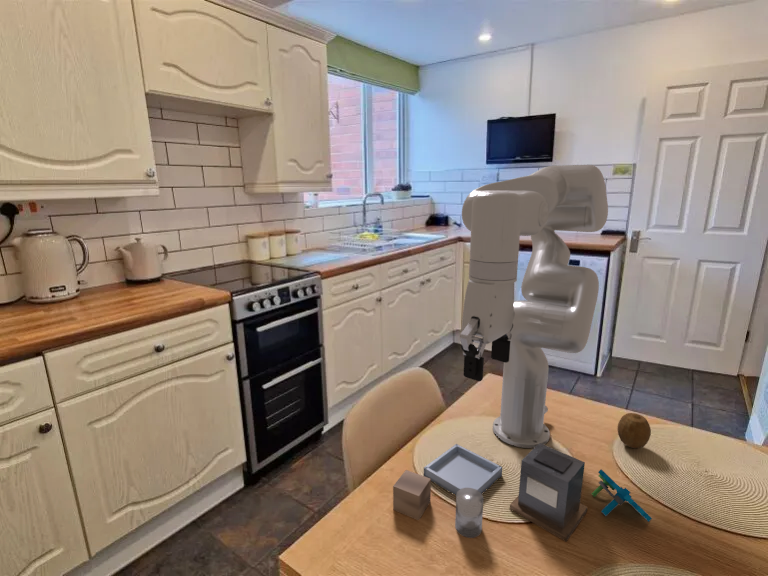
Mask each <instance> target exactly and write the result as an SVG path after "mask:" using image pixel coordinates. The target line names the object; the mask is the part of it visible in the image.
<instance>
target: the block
mask: <svg viewBox="0 0 768 576" xmlns="http://www.w3.org/2000/svg"><path fill="white" fill-rule="evenodd" d="M431 484H432V481H431V479H430V478H428V477H425V476H424V475H421V474H419V473H416V472H413V471H410V470H407V469H406V470H405V471H404V472H403V473H402V474H401V476H400V477H399V478H398V479H397V480H396V481H395V483H394V484H393V485H392V509H393V511H395V512H398V513H400V514H402V515H405V516H406V517H410V518H412V519H414V520H417V521H420V520H421V517H422V516H423V515H424V513H425V511H426V509H428V506H429V505H430V504H431V489H432V487H431Z"/></svg>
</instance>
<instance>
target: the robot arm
mask: <svg viewBox="0 0 768 576" xmlns="http://www.w3.org/2000/svg"><path fill="white" fill-rule="evenodd" d="M604 178H605V177H604V176H603V173H602V171H601V170H600V168H599V167H597V166H596V165H593V164H576V165H575V164H572V165H571V164H570V165H569V164H568V165H565V164H564V165H549V166H545V167H541V168H540V169H538V170H536V171H535V172H533V173H530V174H529V175H523V176H520V177H514V178H512V179H511V178H510V179H506V180H501V181H497V182H492V183H487V184H484V185H482V186H479V187H477V188H475V189H473V190H472V191H471V192H470V193H469V194H468V195H467V196H466V198H465V200H464V201H463V205H462V208H461V220H462V222H463V224H464V226H465V227H466V229H467V230H468V231H469V232H470V245H469V246H470V247H469V248H470V249H469V269H468V279H469V280H468V281H467V286H466V289H465V295H464V302H463V311H462V317H461V318H462V319H461V320H462V321H461V332H460V334H459V340H460V344H461V345H460V347H461V350H462V355H463V357H464V358H463V359H464V360H463V376H464V377H465V378H467V379H470V380H474V381H477V382H482V381H483V378H484V362H485V358H484V357H483V353H484V351H485V348H486V345H488V344H490V343H491V354H490V357H491V359H492V360H495V361H498V362H502V363H503V368H502V369H503V370H502V373H503V374H502V385H501V386H502V387H501V399H500V400H501V403H500V413H499V414H500V415H499V416H498V417H496V418H495V419H494V421H493V423H492V431H493V433H494V434H496V435H495V436H496V437H497V436H498V437H497V438H498V439H499V438H500V440H501V441H502V442H504V443H506V444H509V445H511V446H513V445H514V447H518V448H523V449H524V448H525V449H534V448H535V447H536V446H537V445H538V444H539V443H541V444H544V445H546V444H547V443H548V442H549V440H550V436H551V435H550V433H551V432H550V430H549V428H548V427H547V426H546V424H545V423H544V421H545V414H546V413H547V412H548V411H549V408H548V406H547V405H546V400H547V388H548V380H549V379H548V377H549V362H548V359H547V356H546V355H545V352H544V351H543V349H547V350H552V351H557V352H562V353H568V354H577V353H581V352H582V351H583V350H584V349H585V347H586V345H587V343H588V340H589V336H590V333H591V328H592V325H593V319H594V313H595V311H596V310H595V309H596V307H597V303H598V297H599V288H600V287H599V286H600V283H599V282H600V281H599V277H598V274H597V273H596V271H594V270H593V269H591V268H589V267H587V266H586V267H584V266H579V265H568V264H569V262H570V259H571V250H570V249H569V246H568V245H567V244H566V242H565V241H564V240H563V239H562V237H560V236H559V235H558V234H557V233H556V231H561V232H579V233H580V232H581V233H595V232H598V231H600V230H602V229H603V228H604V226H605V225H606V223H607V221H608V220H607V219H608V215H609V204H608V202H609V201H608V196H607V187H606V182H605V179H604ZM520 237H530V239H531V243H532V251H531V255H530V258H529V260H528V264H527V266H526V268H525V269H526V270H525V272H524V275H523V278H522V282H521V287H520V288H521V295H522V296H523V298H524V300H523V299H522V300H521V299H520V300H515V283H516V282H518V281H517V279H518V267H519V252H520V241H521V240H520ZM474 343H475V344H478V346H477V347H476V346H475V344H474Z"/></svg>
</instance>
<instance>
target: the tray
mask: <svg viewBox="0 0 768 576" xmlns="http://www.w3.org/2000/svg"><path fill="white" fill-rule="evenodd" d="M423 476H425V477H428V478H430V479H431V483H434V482H435V483H436V485H437V486H439V487H440V486H441V488H442V487H443V488H444V489H443V488H442V489H443V490H445V489H446V491H447V490H448V491H450V492H452V493H453V494H455V495H456V494H457V492H458V491H459V490H460V489H462V488H473V489H476V490H478V491H479V492H480V493H481V494H482V493H483V492H484V493H485V492H486V491H487V490H488V489H489V488H490V487H492V486H493V485H494V484H495V483H496V482H497V481H498V480H499V479H500V478H502V476H503V466H501V465H499V464H497V463H495V462H493V461H491V460H490V459H487V458H485V457H483V456H481V455H480V454H478V453H475V452H474V451H471V450H470V449H467V447H466V448H465V447H463V446H461V445H460V444H458V443H455V444H454V445H453V446H451V447H450V448H449V449H447V450H445V451H444V452H443V453H442V454H440V455H439V456H438V457H436V458H435V459H433V460H432V461H431V462H429V463H428V464H426V465H425V466H424V467H423ZM498 478H499V479H498ZM497 479H498V480H497ZM496 480H497V481H496ZM495 481H496V482H495ZM494 482H495V483H494ZM435 483H434V484H435ZM493 483H494V484H493ZM492 484H493V485H492ZM491 485H492V486H491ZM486 489H487V490H486ZM448 491H447V492H448ZM450 492H449V493H450ZM452 493H451V494H452ZM484 493H483V494H484ZM453 494H452V495H453ZM483 494H482V495H483ZM455 495H454V496H455Z"/></svg>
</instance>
